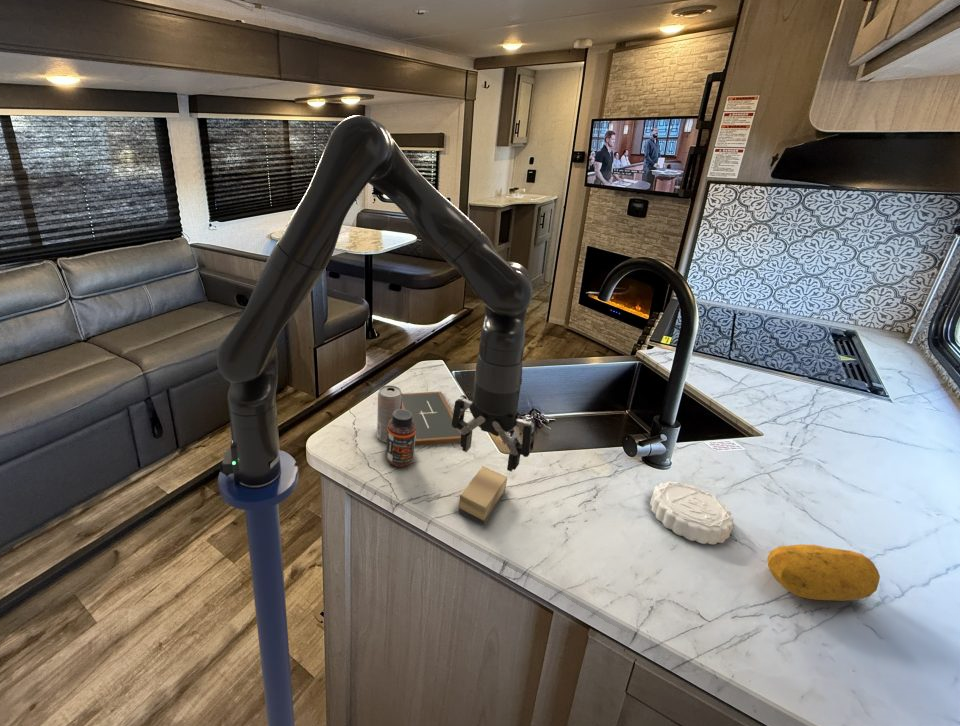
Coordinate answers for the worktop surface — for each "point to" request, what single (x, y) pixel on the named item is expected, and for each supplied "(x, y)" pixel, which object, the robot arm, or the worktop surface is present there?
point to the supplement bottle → (400, 438)
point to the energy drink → (387, 408)
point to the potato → (823, 572)
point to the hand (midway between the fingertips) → (488, 458)
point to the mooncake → (691, 512)
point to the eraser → (482, 495)
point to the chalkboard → (431, 418)
